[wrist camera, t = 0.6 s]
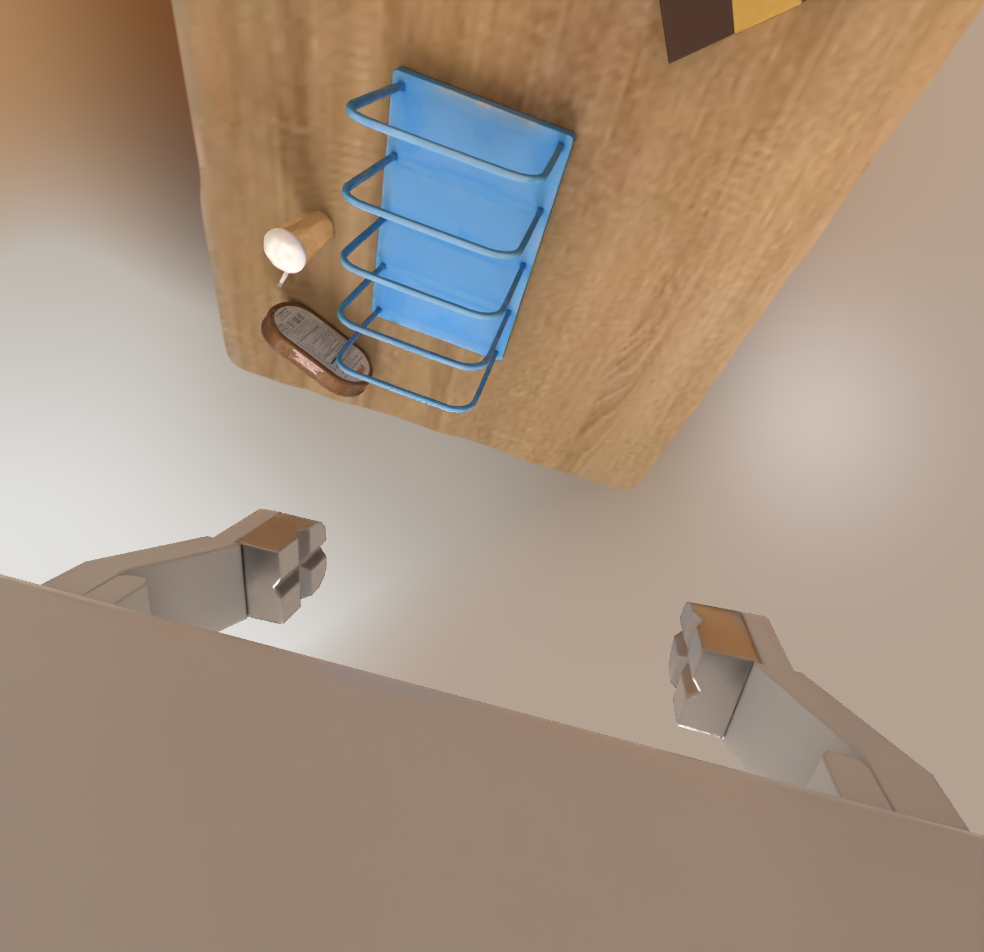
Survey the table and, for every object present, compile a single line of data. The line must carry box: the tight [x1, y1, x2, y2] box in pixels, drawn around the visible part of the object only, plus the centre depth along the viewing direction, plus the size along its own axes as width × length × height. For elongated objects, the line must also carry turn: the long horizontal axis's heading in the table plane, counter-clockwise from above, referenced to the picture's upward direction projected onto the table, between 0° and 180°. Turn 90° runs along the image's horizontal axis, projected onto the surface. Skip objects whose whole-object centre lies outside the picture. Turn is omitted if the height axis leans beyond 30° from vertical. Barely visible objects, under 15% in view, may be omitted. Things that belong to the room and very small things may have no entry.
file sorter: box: [336, 67, 575, 413], centre depth 50 cm, size 25×17×15 cm
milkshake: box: [264, 211, 334, 287], centre depth 55 cm, size 5×5×10 cm
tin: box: [261, 302, 373, 397], centre depth 65 cm, size 15×3×8 cm, turn 51°
